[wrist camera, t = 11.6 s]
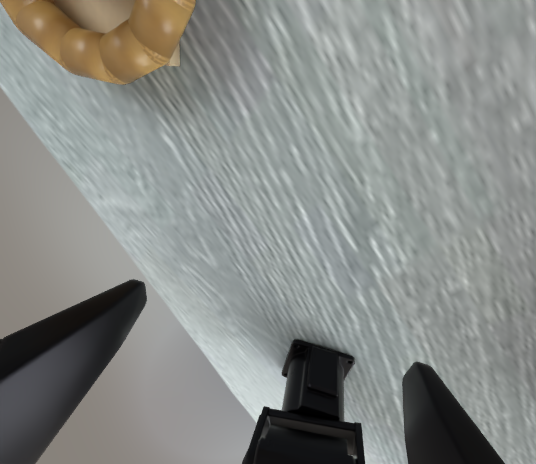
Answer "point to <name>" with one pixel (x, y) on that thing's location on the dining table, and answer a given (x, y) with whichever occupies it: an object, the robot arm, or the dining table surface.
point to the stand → (103, 16)
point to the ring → (105, 37)
